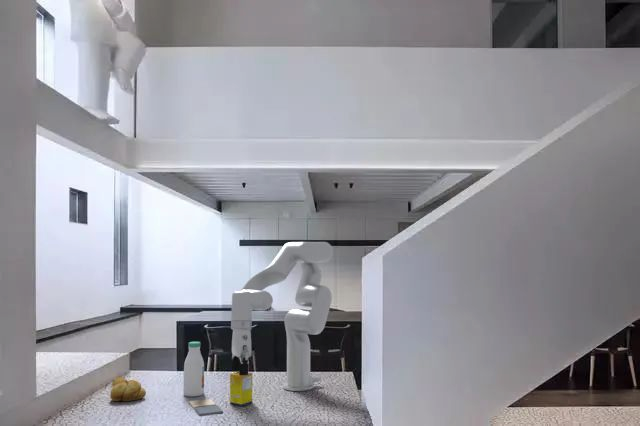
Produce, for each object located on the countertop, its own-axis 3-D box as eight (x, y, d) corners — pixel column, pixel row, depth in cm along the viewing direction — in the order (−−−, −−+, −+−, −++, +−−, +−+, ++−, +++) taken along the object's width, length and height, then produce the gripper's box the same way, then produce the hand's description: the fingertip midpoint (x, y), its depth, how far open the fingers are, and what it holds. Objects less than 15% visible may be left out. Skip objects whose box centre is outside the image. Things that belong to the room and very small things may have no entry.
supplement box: (240, 400, 204) (241, 370, 205) (252, 403, 201) (253, 372, 202) (229, 404, 200) (229, 373, 200) (241, 406, 196) (241, 375, 197)
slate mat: (217, 406, 196) (217, 405, 196) (222, 412, 189) (222, 411, 189) (194, 409, 193) (194, 407, 193) (199, 415, 185) (199, 413, 185)
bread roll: (148, 396, 211) (149, 375, 211) (140, 403, 201) (141, 381, 202) (114, 396, 211) (115, 375, 211) (105, 403, 201) (105, 381, 201)
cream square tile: (210, 400, 205) (210, 398, 205) (215, 405, 197) (215, 404, 197) (189, 402, 201) (189, 401, 201) (193, 408, 194) (193, 406, 194)
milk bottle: (198, 397, 208) (199, 344, 210) (179, 396, 210) (180, 343, 211) (207, 392, 216) (207, 341, 217) (188, 391, 217) (189, 340, 219)
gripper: (258, 327, 196) (257, 376, 194) (244, 322, 211) (242, 367, 210) (238, 327, 193) (236, 377, 191) (225, 322, 208) (223, 369, 207)
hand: (239, 372), depth 200 cm, fingers open, 9 cm apart
